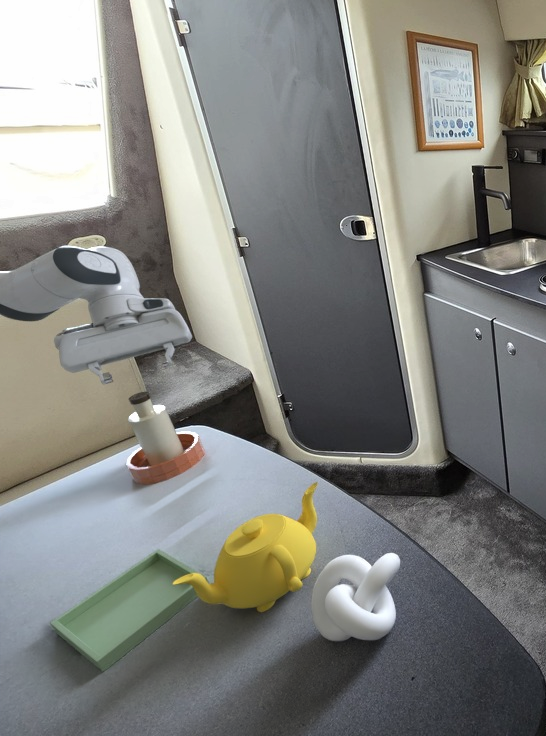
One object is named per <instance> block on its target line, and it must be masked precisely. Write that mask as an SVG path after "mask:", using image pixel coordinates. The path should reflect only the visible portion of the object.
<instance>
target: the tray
mask: <svg viewBox="0 0 546 736" xmlns="http://www.w3.org/2000/svg"><path fill="white" fill-rule="evenodd" d="M191 573H199V574H201V575H202V576H203V577H204V578H205V579H206V581H207V582H208V583H209V584H210V581H209V579H208V577H207V576H206V575H204V574H203V573H201V572H199V571H197V570H195V569H194V568H192V567H190V566H189V565H188V564H186V563H184V562H182V561H180V560H179V559H177V558H175V557H174V556H172V555H171V554H168V553H166V552H165V551H163V550H162V549H160V548H157V549H156V550H153V552H151V553H150V554H148V556H146V557H144V558H142V559H141V560H139V561H138V562H137V563H135V564H134V565H133V566H131V567H130V568H128V569H127V570H125V571H124V572H122V573H121V574H119V575H117V576H116V577H115V578H113V579H112V580H110V581H109V582H108V583H106V584H105V585H103V586H102V587H100V588H99V589H97V590H96V591H95V592H93V593H92V594H90V595H89V596H87V597H86V598H84V599H82V600H81V601H80V602H78V603H77V604H75V605H74V606H72V607H71V608H70V609H68V610H67V611H65V612H64V613H62V614H61V615H59V616H57V618H55V619H54V620H52V621H51V622H50V623H49V624H50V627H52V629H53V630H54V632H55V634H57V635H58V636H59V637H61V638H62V639H63V640H64V641H65V642H66V643H68V644H69V645H70V646H72V647H73V648H74V649H75V650H76V651H77V652H79V654H81V655H82V656H83V657H84V658H86V659H87V660H88V661H90V662H91V663H92V664H93V665H94V666H95V667H96V668H98V669H99V670H100V671H101V672H102V673H104V672H105V671H107V670H108V669H109V668H110V667H112V666H113V665H114V664H116V663H117V662H119V660H120V659H122V658H123V657H125V655H127V654H128V653H129V652H130V651H132V650H133V649H134V648H135V647H137V646H138V645H139V644H140V643H142V642H144V640H146V639H147V638H148V637H150V636H151V635H152V634H153V633H155V632H156V630H158V629H160V628H161V627H162V626H163V625H164V624H166V623H167V622H168V621H169V620H170V619H171V618H173V617H175V615H176V614H178V613H179V612H181V611H182V610H183V609H184V608H186V607H187V606H188V605H190V603H192V602H193V601H194V600H196V599H197V598H199V596H198V595H197V593H196V591H195V589H194V588H193V587H192V586H191V585H190V584H186V583H185V584H178V585H173V582H174V581H176V580H177V579H179V578H181V577H183V576H185V575H187V574H191Z"/></svg>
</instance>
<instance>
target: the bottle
mask: <svg viewBox="0 0 546 736" xmlns="http://www.w3.org/2000/svg"><path fill="white" fill-rule="evenodd" d="M151 398H152V397H151V394H150V392H149V391H141V392H137V393H135V394H132V395H131V396H130V397H128V402H129V404H130V405H132V407H133V409H134V411H135V412H133V413H132V414H131V415H129V417H128V418H127V422H128V424H129V426H130V428H131V430H132V432H133V434H134V436H135V439H136V441H137V442H138V444H139V446H140V447H141V449H142V451H143V453H144V455H145V457H146V459H147V461H148V463H149V465H148V466H153V465H157V464H161V463H163V462H166V461H168V460H171V459H173V458H175V457H177V456H178V455H180V454H182V453H183V452H185V451H186V450H184V449H183V446H182V444H181V442H180V440H179V437H178V435H177V430H176V429H175V426H174V424H173V421H172V420H171V417H170V415H169V412H168V410H167V408H166V406H165V405H163V404H155V405H154V404H153V402H152V400H151Z"/></svg>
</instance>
